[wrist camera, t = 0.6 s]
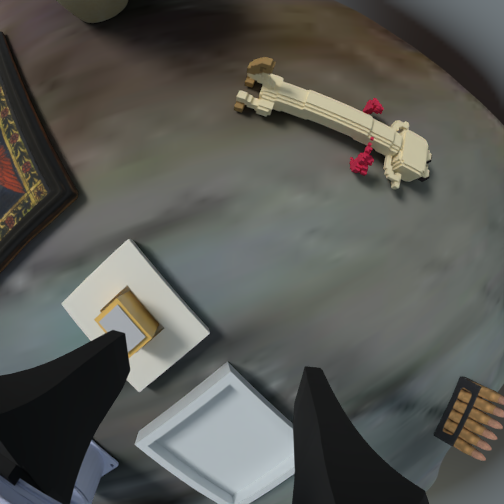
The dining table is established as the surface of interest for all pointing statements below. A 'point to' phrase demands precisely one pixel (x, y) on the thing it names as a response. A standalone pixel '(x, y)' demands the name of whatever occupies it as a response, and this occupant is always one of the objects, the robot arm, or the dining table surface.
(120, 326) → the block
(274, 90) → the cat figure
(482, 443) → the ammunition clip
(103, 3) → the plant pot
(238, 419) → the parts tray
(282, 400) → the dining table surface
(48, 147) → the framed painting
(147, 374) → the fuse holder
